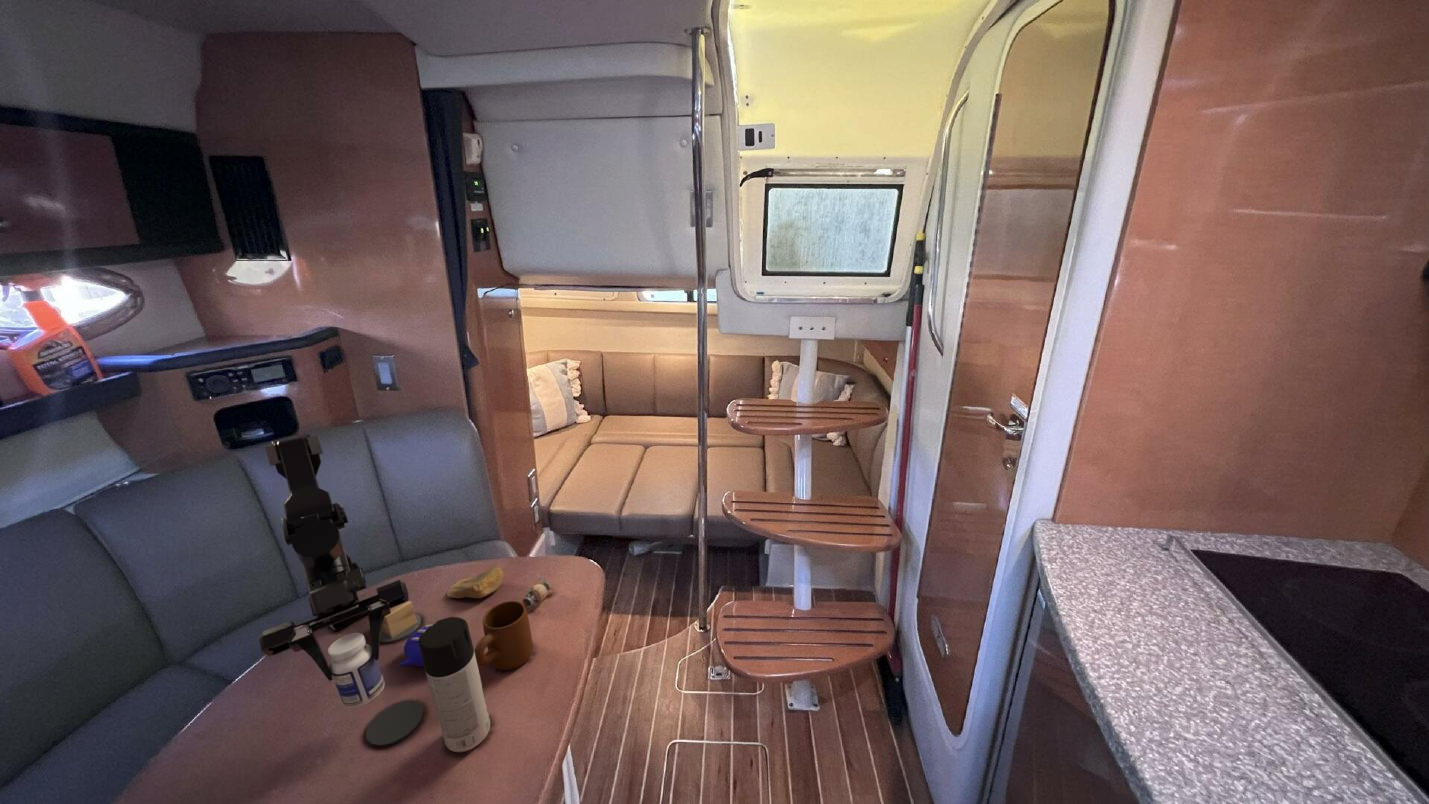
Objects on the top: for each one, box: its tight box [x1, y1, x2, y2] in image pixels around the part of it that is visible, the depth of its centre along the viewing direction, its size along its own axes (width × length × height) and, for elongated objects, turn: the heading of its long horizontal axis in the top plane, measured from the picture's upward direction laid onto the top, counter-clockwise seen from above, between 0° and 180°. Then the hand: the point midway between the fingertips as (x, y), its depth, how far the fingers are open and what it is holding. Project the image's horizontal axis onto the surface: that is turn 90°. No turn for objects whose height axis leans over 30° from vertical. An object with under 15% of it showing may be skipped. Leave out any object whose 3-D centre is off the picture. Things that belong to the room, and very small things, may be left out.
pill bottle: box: [327, 632, 385, 709], centre depth 82 cm, size 6×6×10 cm
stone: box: [447, 564, 505, 599], centre depth 116 cm, size 9×5×10 cm
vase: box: [521, 572, 556, 611], centre depth 111 cm, size 5×5×6 cm
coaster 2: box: [365, 700, 424, 748], centre depth 85 cm, size 8×8×1 cm
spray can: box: [419, 616, 491, 753], centre depth 80 cm, size 7×7×20 cm
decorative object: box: [398, 624, 433, 667], centre depth 97 cm, size 10×6×10 cm
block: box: [381, 600, 417, 638], centre depth 105 cm, size 5×5×5 cm
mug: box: [474, 600, 534, 671], centre depth 95 cm, size 12×8×9 cm, turn 165°
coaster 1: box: [380, 612, 422, 644], centre depth 106 cm, size 8×8×1 cm
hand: (354, 669), depth 80 cm, fingers closed on pill bottle, 5 cm apart
